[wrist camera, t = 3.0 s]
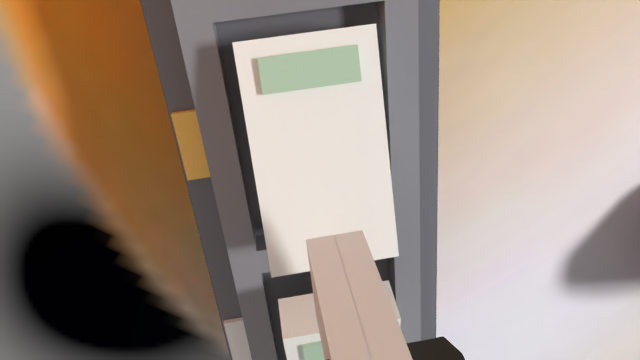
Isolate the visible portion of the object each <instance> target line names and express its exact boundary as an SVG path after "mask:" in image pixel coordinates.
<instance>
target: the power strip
mask: <svg viewBox="0 0 640 360" xmlns="http://www.w3.org/2000/svg"><path fill="white" fill-rule="evenodd" d="M140 2H141V6H142V10H143V14H144V18H145V22H146V26H147V30H148V34H149V38H150V42H151V46H152V50H153V53H154V57H155V61H156V65H157V69H158V73H159V77H160V81H161V85H162V89H163V93H164V97H165V101H166V105H167V109H168V113H169V117H170V121H171V124H172V128H173V132H174V136H175V140H176V144H177V148H178V152H179V156H180V160H181V164H182V168H183V172H184V176H185V180H186V184H187V188H188V192H189V195H190V199H191V203H192V207H193V211H194V215H195V219H196V223H197V227H198V231H199V235H200V239H201V243H202V247H203V251H204V255H205V259H206V263H207V267H208V270H209V274H210V278H211V282H212V286H213V290H214V294H215V298H216V302H217V306H218V310H219V314H220V318H221V322H222V326H223V330H224V334H225V338H226V341H227V345H228V349H229V353H230V357H231V360H287V358H286V353H285V348H284V343H283V338H282V330H281V321H280V313H279V304H278V299H282V298H288V297H294V296H300V295H305V294H311V293H313V289H312V281H311V274H310V271H308V272H302V273H296V274H290V275H284V276H278V277H272V278H271V272H270V266H269V260H268V254H267V248H266V242H265V236H264V230H263V224H262V218H261V212H260V206H259V200H258V194H257V188H256V182H255V176H254V170H253V164H252V158H251V152H250V146H249V140H248V134H247V128H246V122H245V116H244V110H243V104H242V98H241V92H240V86H239V80H238V74H237V68H236V62H235V56H234V50H233V44H232V42H240V41H247V40H255V39H262V38H270V37H277V36H285V35H293V34H300V33H308V32H315V31H323V30H330V29H338V28H346V27H353V26H361V25H368V24H376V28H377V38H378V49H379V59H380V69H381V79H382V89H383V99H384V110H385V120H386V130H387V140H388V150H389V160H390V170H391V181H392V191H393V201H394V211H395V221H396V231H397V241H398V252H399V256H397V257H391V258H385V259H379V260H374V262H375V264H376V267H377V269H378V272H379V274H380V277H381V280H382V281H387V280H389V283H390V286H391V289H392V292H393V295H394V298H395V301H396V305H397V308H398V311H399V314H400V317H401V324H400V328H401V331H402V334H403V336H404V339H405V341H406V343H411V342H417V341H422V340H427V339H433V338H436V278H437V186H438V94H439V3H440V0H140Z"/></svg>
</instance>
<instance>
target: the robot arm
mask: <svg viewBox="0 0 640 360" xmlns="http://www.w3.org/2000/svg"><path fill="white" fill-rule="evenodd" d="M306 244H307V252H308V259H309V267H310V274H311V281H312V289H313V296H314V304H315V311H316V318H317V323H318V328H319V333H320V338H321V343H322V348H323V353H324V358H325V360H465V359H464V357H463V355H462V353H461V352H460V351H459V350H458V349H457V348H455V347H454V346H453V345H452V344H451V343H450V342H449V341H448V340H447V339H445V338H444V337H438V338H433V339H427V340H422V341H417V342H411V343H406V341H405V339H404V336H403V334H402V331H401V328H400V326H399V323H398V321H397V318H396V316H395V313H394V310H393V308H392V305H391V303H390V300H389V298H388V295H387V292H386V290H385V287H384V285H383V282H382V280H381V277H380V274H379V272H378V269H377V267H376V264H375V262H374V259H373V256H372V254H371V251H370V249H369V246H368V244H367V241H366V238H365V236H364V233H363V231H362V230H360V231H354V232H348V233H342V234H336V235H330V236H324V237H318V238H311V239H306Z"/></svg>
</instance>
